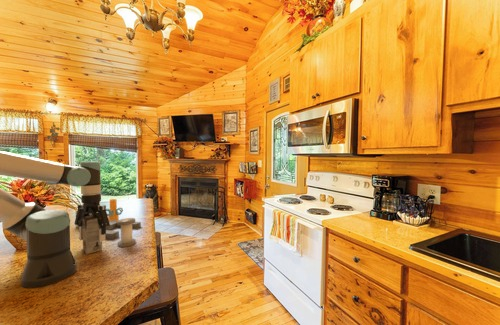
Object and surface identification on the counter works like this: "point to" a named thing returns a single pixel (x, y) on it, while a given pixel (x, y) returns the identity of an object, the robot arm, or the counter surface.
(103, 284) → the counter surface
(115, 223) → the notched board
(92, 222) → the coffee box
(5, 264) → the counter surface
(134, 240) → the spool
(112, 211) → the grey orange looped piece
